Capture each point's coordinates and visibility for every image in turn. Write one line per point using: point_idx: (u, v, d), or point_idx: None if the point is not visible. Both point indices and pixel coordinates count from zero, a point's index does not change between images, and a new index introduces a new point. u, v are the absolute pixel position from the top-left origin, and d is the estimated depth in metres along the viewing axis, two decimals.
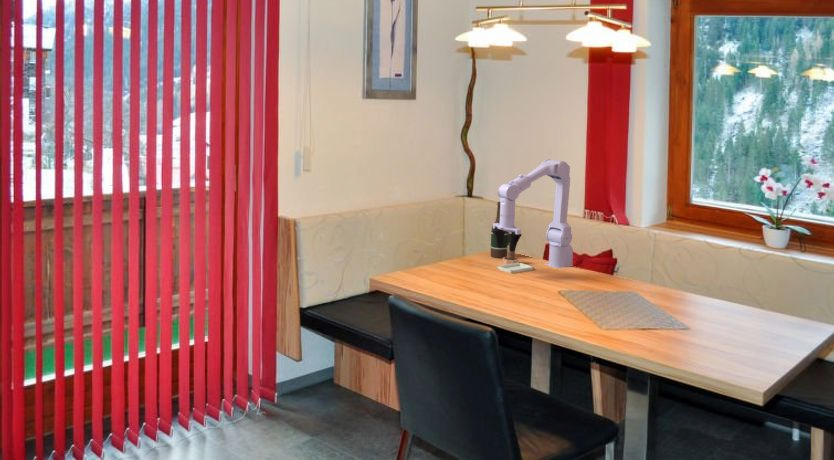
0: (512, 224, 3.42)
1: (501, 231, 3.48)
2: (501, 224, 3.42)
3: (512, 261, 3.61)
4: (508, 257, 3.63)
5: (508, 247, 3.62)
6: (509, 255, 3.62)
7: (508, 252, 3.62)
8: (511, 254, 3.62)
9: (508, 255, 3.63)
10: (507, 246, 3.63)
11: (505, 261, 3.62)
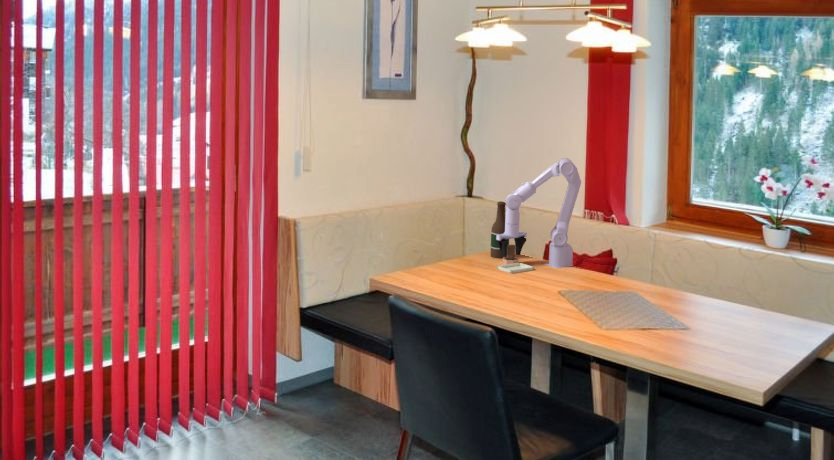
0: (507, 231, 3.60)
1: (518, 239, 3.64)
2: None
3: (512, 261, 3.61)
4: (508, 257, 3.63)
5: (508, 247, 3.62)
6: (509, 255, 3.62)
7: (508, 252, 3.62)
8: (511, 254, 3.62)
9: (508, 255, 3.63)
10: (507, 246, 3.63)
11: (505, 261, 3.62)
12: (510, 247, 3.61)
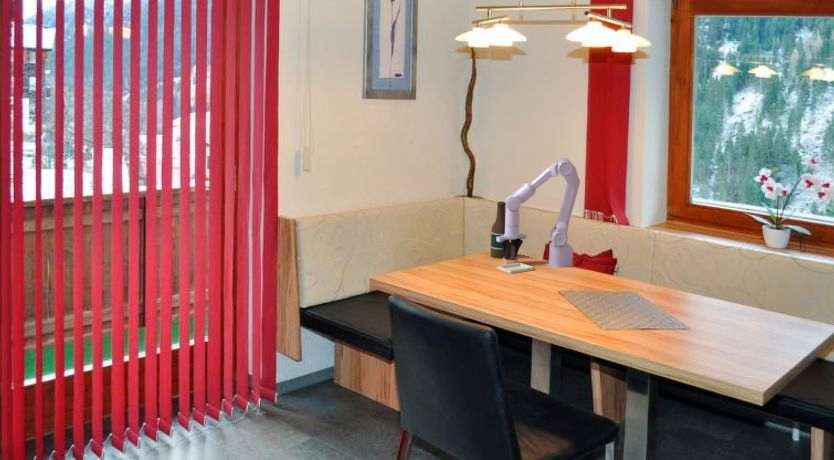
0: (507, 233, 3.60)
1: (515, 241, 3.63)
2: None
3: (512, 261, 3.61)
4: None
5: None
6: None
7: None
8: (511, 254, 3.62)
9: None
10: None
11: (505, 261, 3.62)
12: None
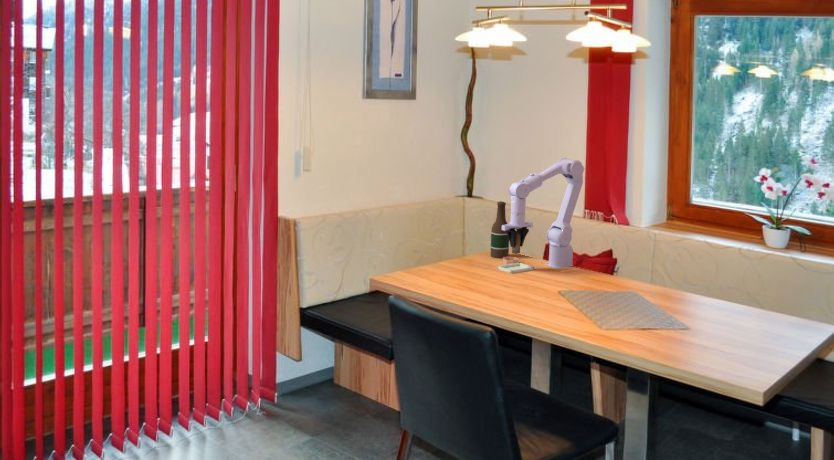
0: (513, 221, 3.49)
1: (521, 230, 3.52)
2: None
3: (512, 261, 3.61)
4: None
5: None
6: None
7: None
8: (516, 243, 3.51)
9: None
10: None
11: (505, 261, 3.62)
12: None
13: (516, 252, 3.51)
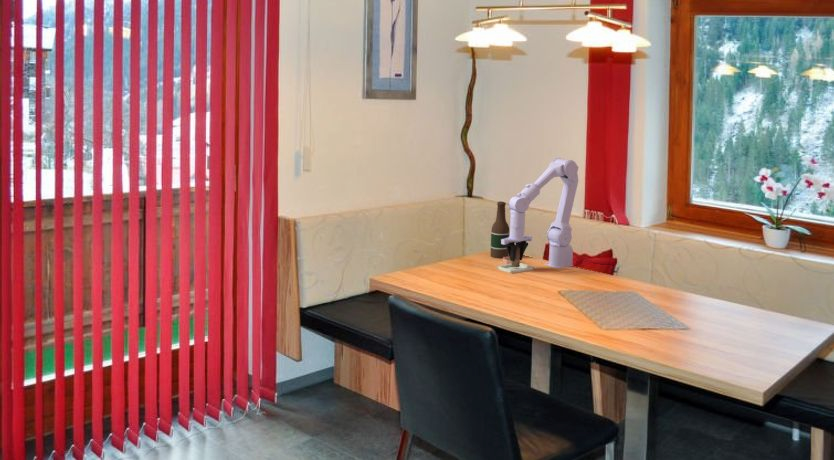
0: (512, 235, 3.50)
1: (520, 244, 3.53)
2: None
3: None
4: None
5: None
6: None
7: None
8: (515, 257, 3.52)
9: None
10: None
11: (505, 261, 3.62)
12: None
13: (515, 266, 3.53)
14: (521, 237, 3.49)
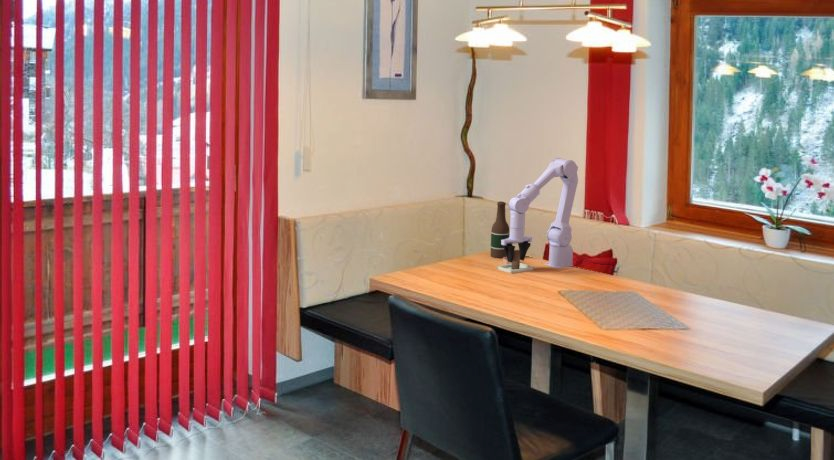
0: (512, 236, 3.50)
1: (523, 244, 3.54)
2: None
3: None
4: (512, 262, 3.53)
5: None
6: (514, 260, 3.52)
7: None
8: (515, 259, 3.52)
9: None
10: None
11: (505, 261, 3.62)
12: (514, 252, 3.52)
13: (515, 268, 3.53)
14: (521, 238, 3.49)
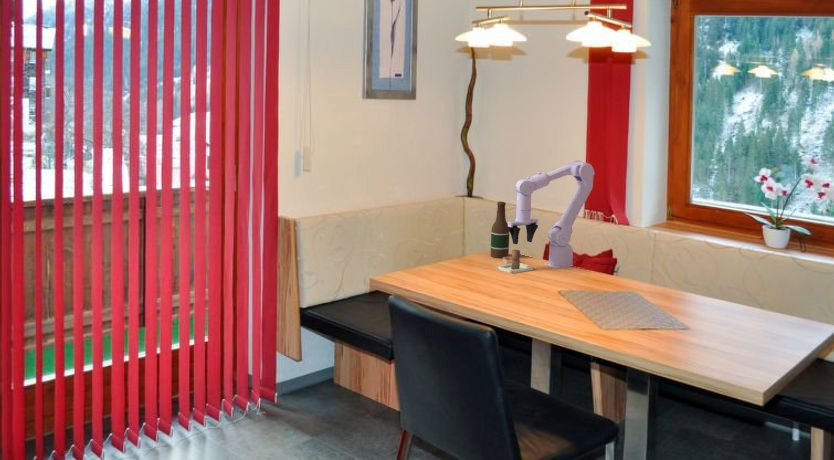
0: (518, 218, 3.53)
1: (530, 226, 3.58)
2: None
3: None
4: (513, 262, 3.53)
5: (513, 252, 3.52)
6: (514, 260, 3.52)
7: (513, 257, 3.53)
8: (515, 259, 3.52)
9: (513, 260, 3.53)
10: (512, 251, 3.53)
11: (505, 261, 3.62)
12: (515, 252, 3.52)
13: (515, 268, 3.53)
14: (527, 220, 3.53)
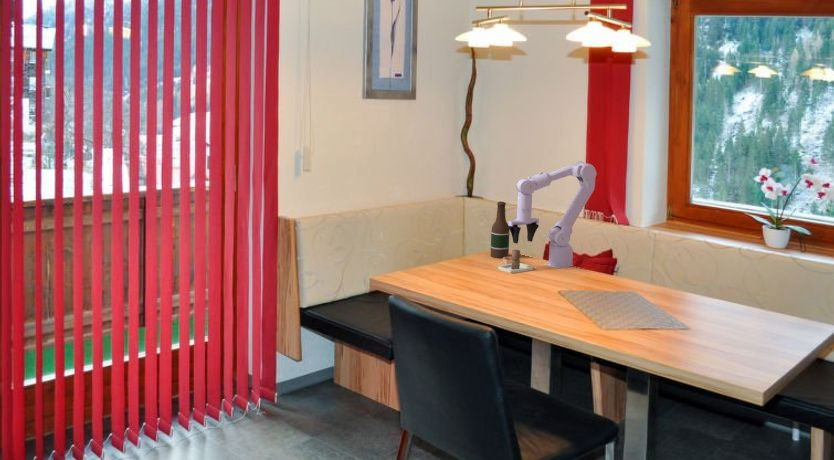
0: (519, 217, 3.54)
1: (531, 226, 3.58)
2: None
3: None
4: (513, 262, 3.53)
5: (513, 252, 3.52)
6: (514, 260, 3.52)
7: (513, 257, 3.53)
8: (515, 259, 3.52)
9: (513, 260, 3.53)
10: (512, 251, 3.53)
11: (505, 261, 3.62)
12: (515, 252, 3.52)
13: (515, 268, 3.53)
14: (528, 219, 3.54)
